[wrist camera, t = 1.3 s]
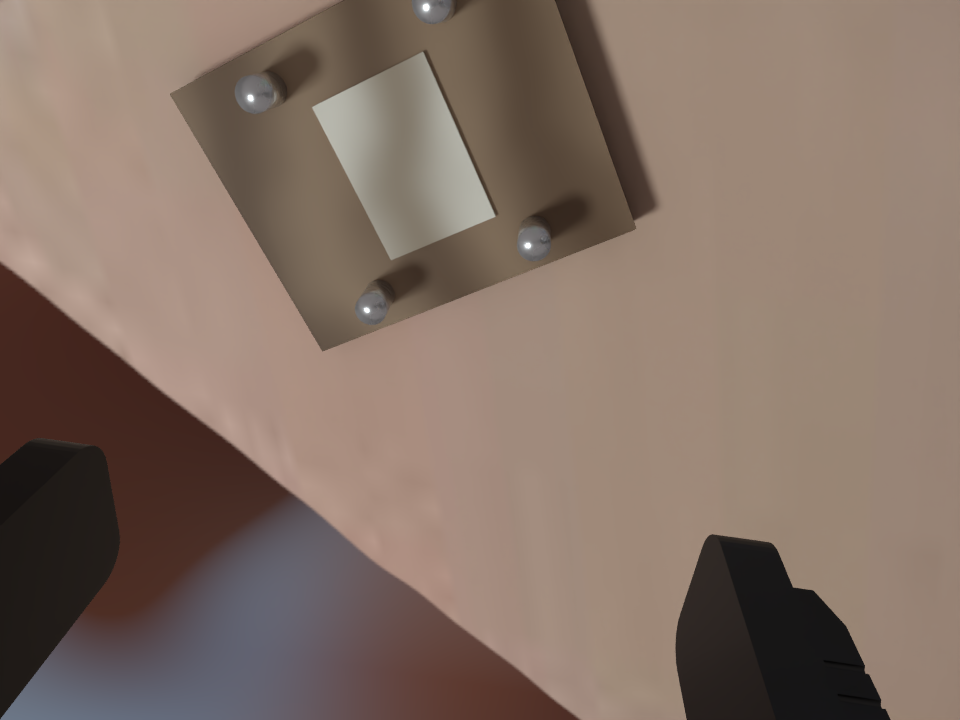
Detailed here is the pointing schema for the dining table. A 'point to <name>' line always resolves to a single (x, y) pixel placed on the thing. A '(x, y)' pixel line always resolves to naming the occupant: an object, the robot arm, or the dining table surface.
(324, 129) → the plate
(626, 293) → the dining table surface
